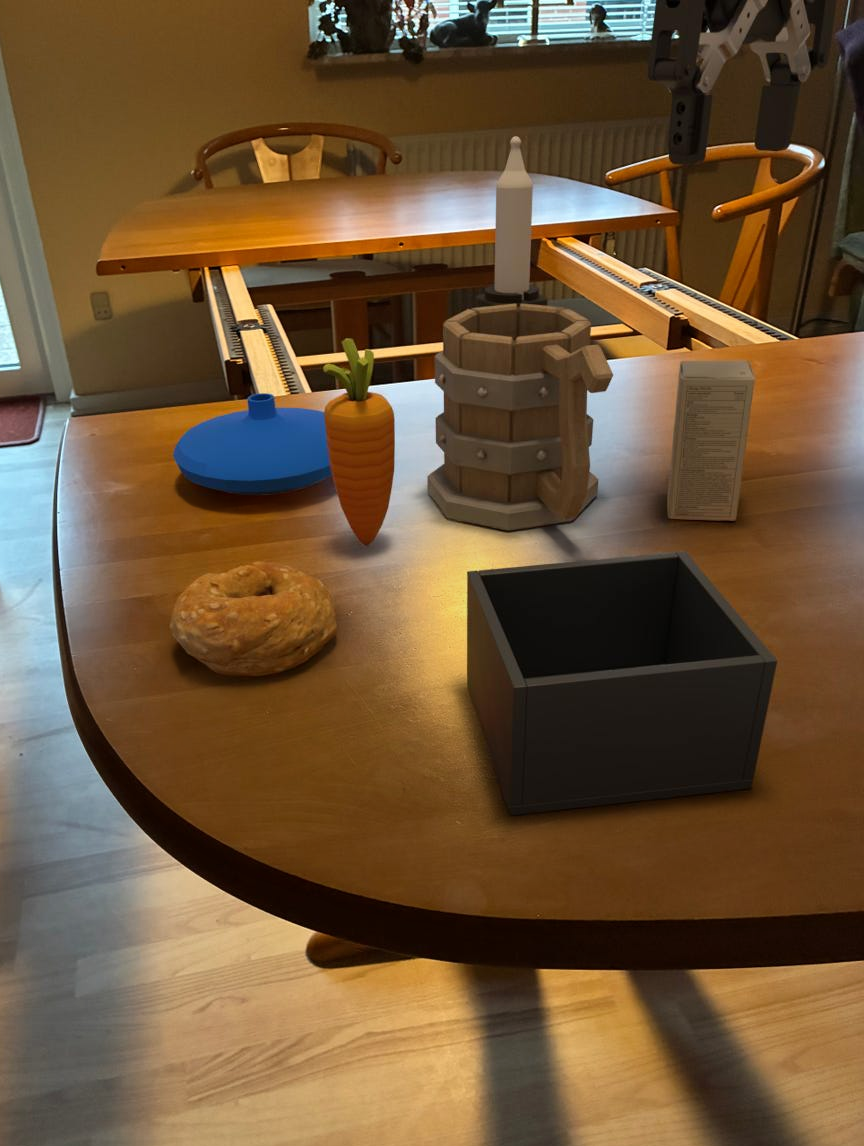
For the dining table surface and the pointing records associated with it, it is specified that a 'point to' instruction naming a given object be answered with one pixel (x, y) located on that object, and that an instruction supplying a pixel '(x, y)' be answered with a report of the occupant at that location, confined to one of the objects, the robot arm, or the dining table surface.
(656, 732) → the bin
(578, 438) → the tankard
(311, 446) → the vase
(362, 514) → the carrot
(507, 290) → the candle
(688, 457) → the box
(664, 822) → the dining table surface
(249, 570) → the bagel
